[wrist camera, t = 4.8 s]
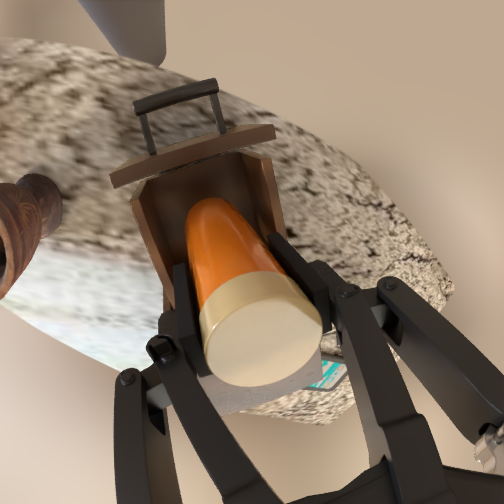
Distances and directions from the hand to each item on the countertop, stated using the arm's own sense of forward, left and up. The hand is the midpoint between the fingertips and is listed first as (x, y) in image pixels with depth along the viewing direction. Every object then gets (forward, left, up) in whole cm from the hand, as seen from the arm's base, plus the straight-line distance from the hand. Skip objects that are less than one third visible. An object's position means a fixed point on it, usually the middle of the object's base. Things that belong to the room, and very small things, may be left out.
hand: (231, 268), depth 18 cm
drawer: (-2, -1, -14) cm, 14 cm away
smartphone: (+26, +23, -15) cm, 38 cm away
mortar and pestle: (+1, -21, -15) cm, 26 cm away
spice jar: (0, 0, -8) cm, 8 cm away
